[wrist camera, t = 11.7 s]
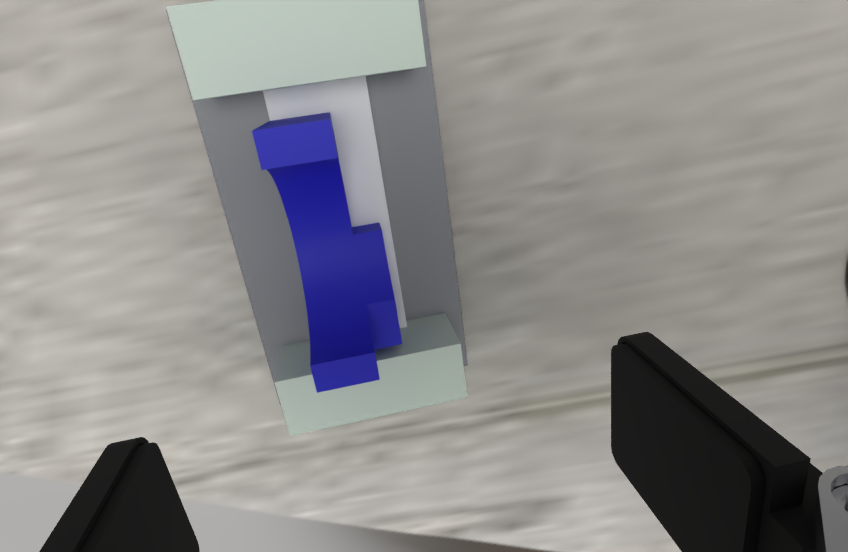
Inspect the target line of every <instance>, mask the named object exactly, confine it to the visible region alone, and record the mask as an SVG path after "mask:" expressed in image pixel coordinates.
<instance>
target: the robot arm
mask: <svg viewBox="0 0 848 552" xmlns="http://www.w3.org/2000/svg"><path fill="white" fill-rule="evenodd" d="M611 448H612V453H613V456H614V459H615V461H616V463H617V465H618V466H619V467H620V469H621V470H622V471H623V473H624V474H625V476H626V477H627V478H628V480H629V481H630V482H631V484H632V485H633V486H634V488H635V489H636V490H637V492H638V493H639V494H640V496H641V497H642V498H643V500H644V501H645V502H646V504H647V505H648V507H649V508H650V509H651V511H652V512H653V513H654V515H655V516H656V517H657V519H658V520H659V521H660V523H661V524H662V525H663V527H664V528H665V529H666V531H667V532H668V533H669V535H670V536H671V537H672V539H673V540H674V542H675V543H676V544H677V546H678V547H679V548H680V550H681V551H682V552H848V466H837V467H834V468H831V469H828V470H826V471H825V472H824V473H822V472H821V471H819V470H818V469H817V468H816V467H814V466H813V465H812V464H811V463H810V458H809V457H808V456H807V455H805V454H804V453H803V452H801V451H800V450H799V449H798V448H796V447H795V446H794V445H793V444H791V443H790V442H789V441H787V440H786V439H785V438H784V437H782V436H781V435H780V434H779V433H777V432H776V431H775V430H773V429H772V428H771V427H770V426H768V425H767V424H766V423H765V422H763V421H762V420H761V419H759V418H758V417H757V416H756V415H754V414H753V413H752V412H750V411H749V410H748V409H747V408H745V407H744V406H743V405H742V404H740V403H739V402H738V401H736V400H735V399H734V398H733V397H731V396H730V395H729V394H728V393H726V392H725V391H724V390H722V389H721V388H720V387H719V386H717V385H716V384H715V383H714V382H712V381H711V380H710V379H708V378H707V377H706V376H705V375H703V374H702V373H701V372H700V371H698V370H697V369H696V368H694V367H693V366H692V365H691V364H689V363H688V362H687V361H686V360H684V359H683V358H682V357H680V356H679V355H678V354H677V353H675V352H674V351H673V350H672V349H670V348H669V347H668V346H666V345H665V344H664V343H663V342H661V341H660V340H659V339H658V338H656V337H655V336H654V335H652V334H651V333H649V332H643V333H638V334H634V335H629V336H624V337H621V338H620V339H619V341H618V345H615V346H613V347H612V351H611ZM40 552H199V545H198V541H197V539H196V536H195V534H194V531H193V529H192V527H191V524H190V522H189V520H188V517H187V514H186V512H185V510H184V507H183V505H182V502H181V500H180V497H179V495H178V493H177V490H176V488H175V485H174V483H173V480H172V478H171V475H170V473H169V471H168V468H167V466H166V463H165V461H164V458H163V456H162V454H161V451H160V449H159V447H158V445H157V444H156V443H149V442H148V441H147V440H146V439H145V438H143V437H140V438H135V439H130V440H125V441H120V442H116V443H112V444H109V445H108V446H107V447H106V448H105V450H104V451H103V453H102V455H101V456H100V458H99V459H98V461H97V462H96V464H95V466H94V467H93V469H92V470H91V472H90V473H89V475H88V476H87V478H86V480H85V481H84V483H83V484H82V486H81V487H80V490H79V491H78V492H77V494H76V496H75V497H74V498H73V500H72V502H71V503H70V505H69V507H68V508H67V509H66V511H65V513H64V514H63V516H62V517H61V519H60V520H59V522H58V523H57V525H56V527H55V528H54V530H53V531H52V533H51V534H50V536H49V538H48V539H47V541H46V542H45V544H44V546H43V547H42V549H41V550H40Z"/></svg>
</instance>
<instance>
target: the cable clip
mask: <svg viewBox="0 0 848 552" xmlns="http://www.w3.org/2000/svg"><path fill="white" fill-rule="evenodd" d="M252 134H253V138H254V142H255V146H256V150H257V154H258V158H259V162H260V166H261V170H265V169H266V170H267V171H268V172H269V173H270V175H271V176H272V178H273V180H274V182H275V184H276V186H277V189H278V191H279V194H280V196H281V199H282V202H283V205H284V208H285V211H286V215H287V218H288V222H289V225H290V229H291V233H292V237H293V241H294V245H295V249H296V253H297V258H298V263H299V268H300V273H301V278H302V283H303V289H304V295H305V302H306V309H307V316H308V325H309V336H310V367H311V371H312V375H313V379H314V383H315V387H316V391H317V393H319V392H323V391H328V390H333V389H338V388H343V387H347V386H352V385H357V384H362V383H367V382H371V381H376V380H380V378H379V372H378V366H377V360H376V354H375V349H380V348H385V347H390V346H395V345H400V344H402V338H401V332H400V326H399V320H398V314H397V308H396V302H395V297H394V292H393V287H392V282H391V277H390V272H389V267H388V261H387V256H386V251H385V245H384V239H383V233H382V229H381V226H380V223H373V224H367V225H361V226H356V227H352V225H351V219H350V214H349V209H348V204H347V198H346V193H345V188H344V183H343V177H342V172H341V167H340V162H339V156H338V151H337V146H336V141H335V135H334V130H333V125H332V120H331V114H330V112H327V113H320V114H313V115H306V116H300V117H293V118H286V119H279V120H272V121H268V122H267V123H265V124H263V125H261V126H260V127H258V128H256V129H254V130H253V131H252Z"/></svg>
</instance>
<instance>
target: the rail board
mask: <svg viewBox="0 0 848 552" xmlns="http://www.w3.org/2000/svg"><path fill="white" fill-rule="evenodd" d="M166 9H167V10H166V12H167V15H168V19H169V22H170V26H171V29H172V32H173V36H174V39H175V43H176V46H177V50H178V53H179V57H180V60H181V64H182V67H183V70H184V74H185V77H186V81H187V84H188V88H189V91H190V95H191V98H192V102H193V105H194V108H195V112H196V115H197V119H198V122H199V126H200V129H201V133H202V136H203V140H204V143H205V146H206V150H207V153H208V157H209V160H210V164H211V167H212V171H213V174H214V178H215V181H216V184H217V188H218V191H219V195H220V198H221V202H222V205H223V209H224V212H225V216H226V219H227V222H228V226H229V229H230V233H231V236H232V240H233V243H234V247H235V250H236V254H237V257H238V260H239V264H240V267H241V271H242V274H243V278H244V281H245V285H246V288H247V292H248V295H249V298H250V302H251V305H252V309H253V312H254V316H255V319H256V323H257V326H258V329H259V333H260V336H261V340H262V343H263V347H264V350H265V354H266V357H267V361H268V364H269V367H270V371H271V374H272V378H273V381H274V385H275V388H276V392H277V395H278V399H279V402H280V405H281V407H282V410H283V414H284V417H285V421H286V424H287V427H288V431H289V434H290V436H294V435H299V434H303V433H308V432H312V431H317V430H321V429H326V428H330V427H335V426H339V425H344V424H348V423H353V422H357V421H362V420H366V419H371V418H376V417H380V416H385V415H389V414H394V413H398V412H403V411H407V410H412V409H416V408H421V407H425V406H430V405H434V404H439V403H444V402H448V401H453V400H457V399H462V398H466V397H467V390H466V382H465V374H464V366H467V365H468V364H467V355H466V347H465V339H464V330H463V322H462V314H461V306H460V297H459V289H458V281H457V272H456V264H455V256H454V247H453V239H452V231H451V222H450V214H449V206H448V197H447V189H446V181H445V172H444V164H443V156H442V147H441V139H440V131H439V123H438V114H437V106H436V98H435V89H434V81H433V73H432V64H431V56H430V48H429V39H428V31H427V23H426V14H425V6H424V0H216V1H208V2H200V3H192V4H184V5H176V6H168V7H166ZM327 112H330V114H331V120H332V125H333V130H334V135H335V141H336V146H337V151H338V156H339V162H340V167H341V172H342V177H343V183H344V188H345V193H346V198H347V204H348V209H349V214H350V219H351V225H352V227H356V226H361V225H367V224H373V223H380V226H381V229H382V233H383V239H384V245H385V251H386V256H387V261H388V267H389V272H390V277H391V282H392V287H393V292H394V297H395V302H396V308H397V314H398V320H399V326H400V332H401V338H402V344H400V345H395V346H390V347H385V348H380V349H375V354H376V360H377V366H378V372H379V378H380V380H376V381H371V382H367V383H362V384H357V385H352V386H347V387H343V388H338V389H333V390H328V391H323V392H319V393H317V391H316V387H315V383H314V379H313V375H312V371H311V367H310V336H309V325H308V316H307V309H306V302H305V295H304V289H303V283H302V278H301V273H300V268H299V263H298V258H297V253H296V249H295V245H294V241H293V237H292V233H291V229H290V225H289V222H288V218H287V215H286V211H285V208H284V205H283V202H282V199H281V196H280V194H279V191H278V189H277V186H276V184H275V182H274V180H273V178H272V176H271V175H270V173H269V172H268V171H267V170H266V169H265V170H261V166H260V162H259V158H258V154H257V150H256V146H255V142H254V138H253V134H252V131H253V130H254V129H256V128H258V127H260V126H261V125H263V124H265V123H267V122H268V121H272V120H279V119H286V118H293V117H300V116H306V115H313V114H320V113H327Z"/></svg>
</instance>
